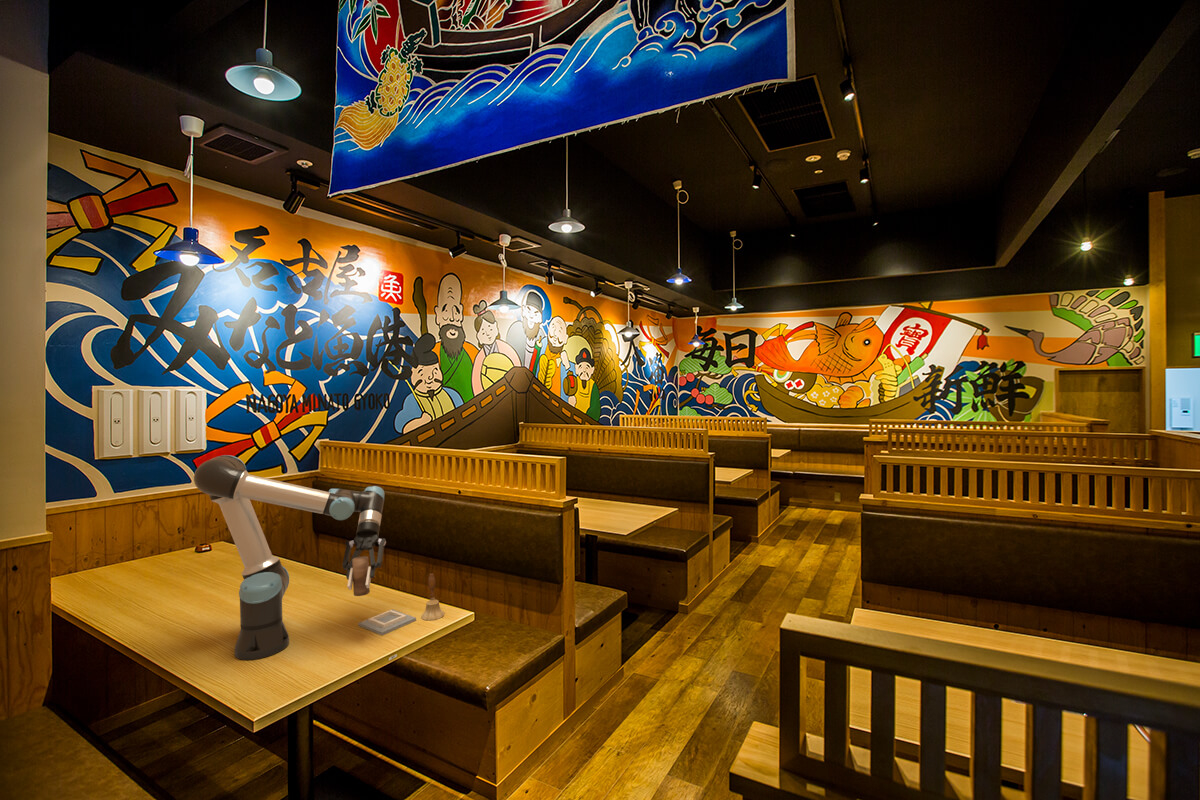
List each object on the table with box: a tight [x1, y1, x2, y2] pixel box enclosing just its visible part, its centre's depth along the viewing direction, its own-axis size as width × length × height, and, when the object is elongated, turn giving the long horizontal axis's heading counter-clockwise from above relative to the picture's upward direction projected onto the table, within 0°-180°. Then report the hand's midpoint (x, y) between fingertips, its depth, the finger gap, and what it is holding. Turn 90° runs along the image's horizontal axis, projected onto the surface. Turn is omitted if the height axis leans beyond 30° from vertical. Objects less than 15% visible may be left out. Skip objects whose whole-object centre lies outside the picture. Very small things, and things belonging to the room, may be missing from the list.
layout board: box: [358, 609, 417, 636], centre depth 192 cm, size 14×14×2 cm
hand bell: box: [421, 573, 445, 621], centre depth 198 cm, size 8×8×16 cm
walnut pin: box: [352, 555, 371, 597], centre depth 181 cm, size 5×5×12 cm
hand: (358, 587), depth 177 cm, fingers closed on walnut pin, 5 cm apart
